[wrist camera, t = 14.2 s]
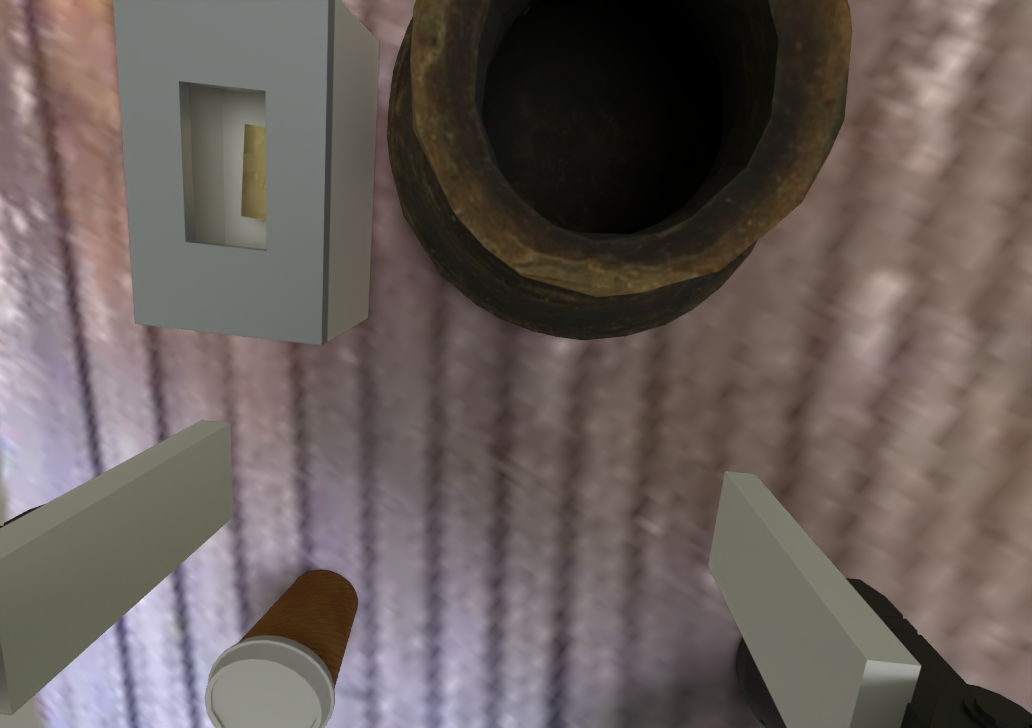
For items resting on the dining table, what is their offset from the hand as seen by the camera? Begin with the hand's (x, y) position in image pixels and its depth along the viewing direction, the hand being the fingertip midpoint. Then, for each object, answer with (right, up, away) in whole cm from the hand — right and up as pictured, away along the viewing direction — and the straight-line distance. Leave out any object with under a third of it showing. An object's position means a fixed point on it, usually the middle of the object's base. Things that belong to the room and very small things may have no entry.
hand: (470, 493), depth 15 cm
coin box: (-16, +17, +28) cm, 36 cm away
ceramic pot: (+6, +19, +27) cm, 33 cm away
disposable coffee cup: (-17, -18, +38) cm, 45 cm away
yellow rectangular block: (-16, +17, +27) cm, 36 cm away
